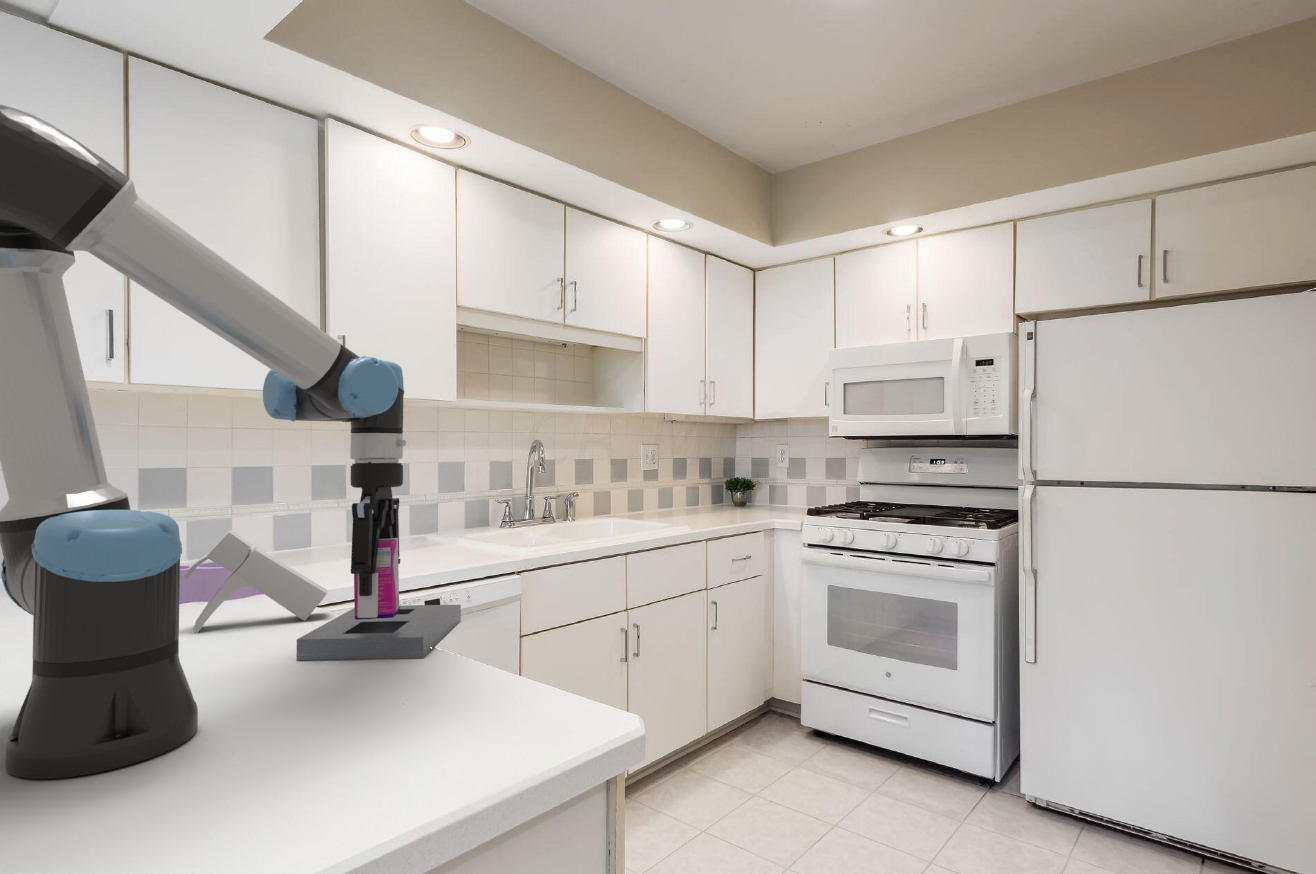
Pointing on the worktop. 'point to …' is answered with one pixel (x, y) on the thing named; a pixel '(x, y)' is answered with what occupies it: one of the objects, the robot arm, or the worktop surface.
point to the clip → (208, 584)
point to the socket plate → (381, 634)
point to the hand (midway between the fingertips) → (376, 611)
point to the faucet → (258, 578)
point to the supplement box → (384, 580)
